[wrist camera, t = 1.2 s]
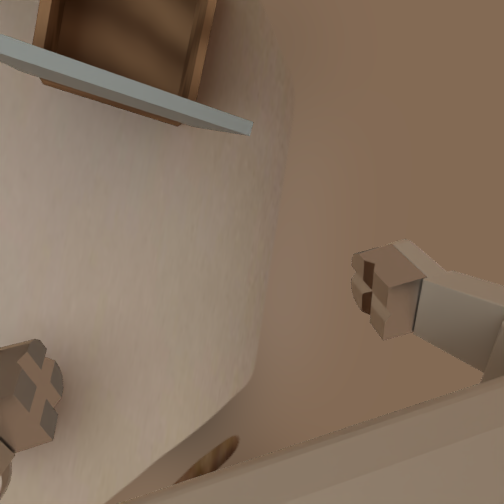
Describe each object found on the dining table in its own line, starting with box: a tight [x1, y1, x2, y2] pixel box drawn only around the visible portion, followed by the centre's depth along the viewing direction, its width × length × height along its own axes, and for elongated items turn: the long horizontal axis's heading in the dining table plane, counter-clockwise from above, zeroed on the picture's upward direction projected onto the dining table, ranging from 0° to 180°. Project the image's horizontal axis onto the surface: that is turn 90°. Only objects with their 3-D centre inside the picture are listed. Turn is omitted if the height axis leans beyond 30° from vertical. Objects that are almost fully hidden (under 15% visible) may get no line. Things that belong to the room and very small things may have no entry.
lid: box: [0, 34, 253, 136], centre depth 26 cm, size 17×15×1 cm
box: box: [32, 0, 217, 126], centre depth 36 cm, size 16×14×8 cm
